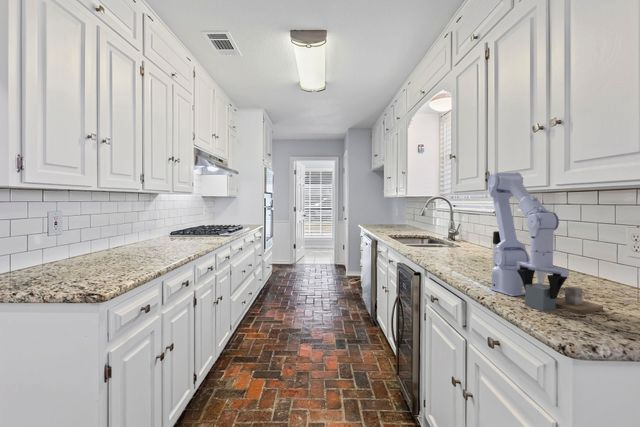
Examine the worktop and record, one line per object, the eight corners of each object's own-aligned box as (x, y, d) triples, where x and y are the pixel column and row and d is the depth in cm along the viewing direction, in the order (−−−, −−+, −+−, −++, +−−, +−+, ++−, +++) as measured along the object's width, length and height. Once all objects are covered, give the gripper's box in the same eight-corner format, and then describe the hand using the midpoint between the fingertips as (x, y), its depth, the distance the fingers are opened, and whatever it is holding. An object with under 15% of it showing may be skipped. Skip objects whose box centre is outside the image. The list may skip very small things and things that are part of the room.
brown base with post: (544, 304, 101) (545, 285, 101) (566, 300, 105) (567, 282, 105) (580, 314, 92) (580, 294, 92) (602, 309, 96) (603, 290, 96)
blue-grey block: (524, 305, 100) (525, 284, 99) (537, 303, 102) (537, 283, 101) (543, 311, 94) (543, 289, 94) (555, 308, 96) (556, 287, 96)
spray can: (493, 280, 132) (495, 232, 131) (490, 276, 138) (491, 230, 137) (512, 281, 130) (513, 232, 129) (507, 277, 136) (508, 231, 136)
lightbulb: (532, 281, 130) (533, 254, 129) (550, 283, 126) (551, 256, 125) (530, 284, 125) (531, 256, 125) (549, 287, 121) (550, 258, 121)
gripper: (510, 248, 103) (509, 290, 103) (558, 255, 89) (556, 303, 90) (525, 247, 105) (524, 288, 106) (574, 254, 92) (572, 300, 92)
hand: (540, 294), depth 98 cm, fingers open, 7 cm apart
